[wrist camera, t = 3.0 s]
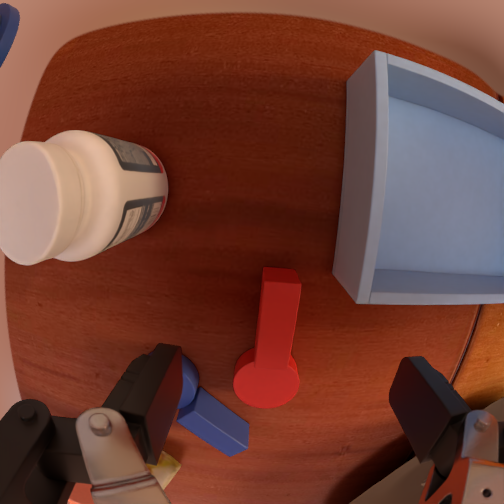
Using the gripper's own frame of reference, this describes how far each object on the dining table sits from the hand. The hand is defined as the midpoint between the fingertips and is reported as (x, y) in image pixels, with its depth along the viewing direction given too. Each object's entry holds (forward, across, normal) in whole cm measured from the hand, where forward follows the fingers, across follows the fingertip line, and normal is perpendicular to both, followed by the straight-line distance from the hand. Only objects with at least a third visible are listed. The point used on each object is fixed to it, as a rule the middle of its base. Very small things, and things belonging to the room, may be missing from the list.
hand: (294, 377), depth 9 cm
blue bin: (+8, -10, -8) cm, 15 cm away
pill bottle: (+8, +9, -6) cm, 13 cm away
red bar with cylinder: (+7, 0, +2) cm, 8 cm away
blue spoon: (+7, +4, +9) cm, 12 cm away
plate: (+8, -22, +23) cm, 33 cm away
